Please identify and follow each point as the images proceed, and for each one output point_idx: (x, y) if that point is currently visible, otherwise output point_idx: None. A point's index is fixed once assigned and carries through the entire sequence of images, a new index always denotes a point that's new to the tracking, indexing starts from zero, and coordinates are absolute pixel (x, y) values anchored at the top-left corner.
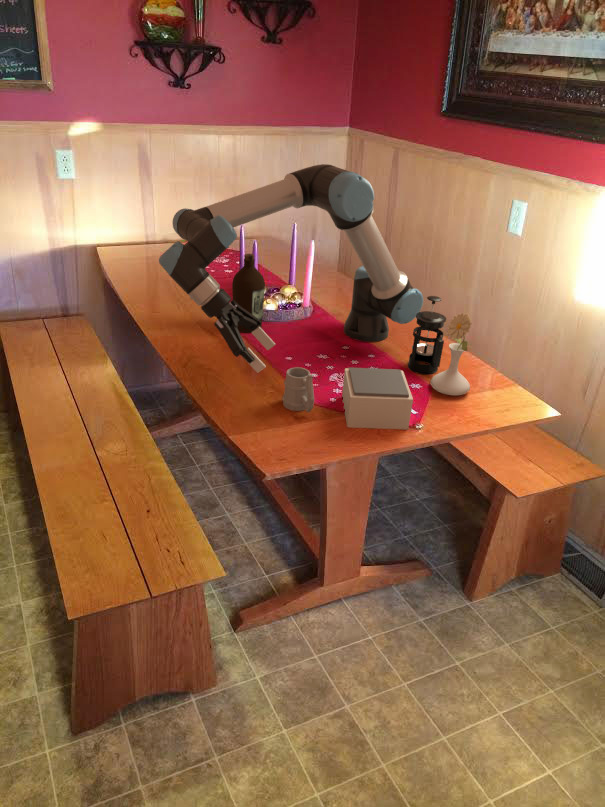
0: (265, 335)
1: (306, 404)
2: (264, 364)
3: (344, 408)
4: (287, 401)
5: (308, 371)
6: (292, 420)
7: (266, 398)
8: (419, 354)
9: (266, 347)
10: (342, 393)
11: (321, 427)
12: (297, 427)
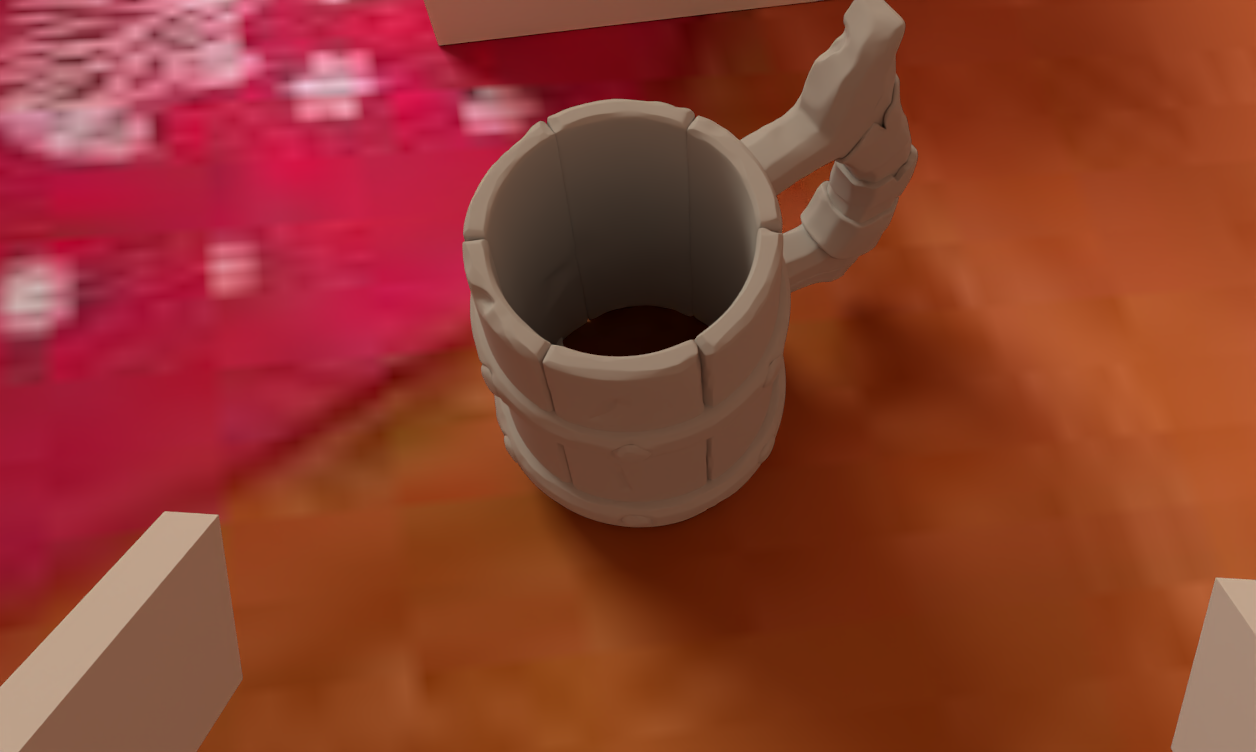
0: (70, 705)
1: (864, 242)
2: (1231, 602)
3: (665, 6)
4: (751, 454)
5: (573, 117)
6: (950, 410)
7: (566, 718)
8: None
9: (215, 698)
10: (440, 17)
11: (996, 165)
12: (1062, 356)
